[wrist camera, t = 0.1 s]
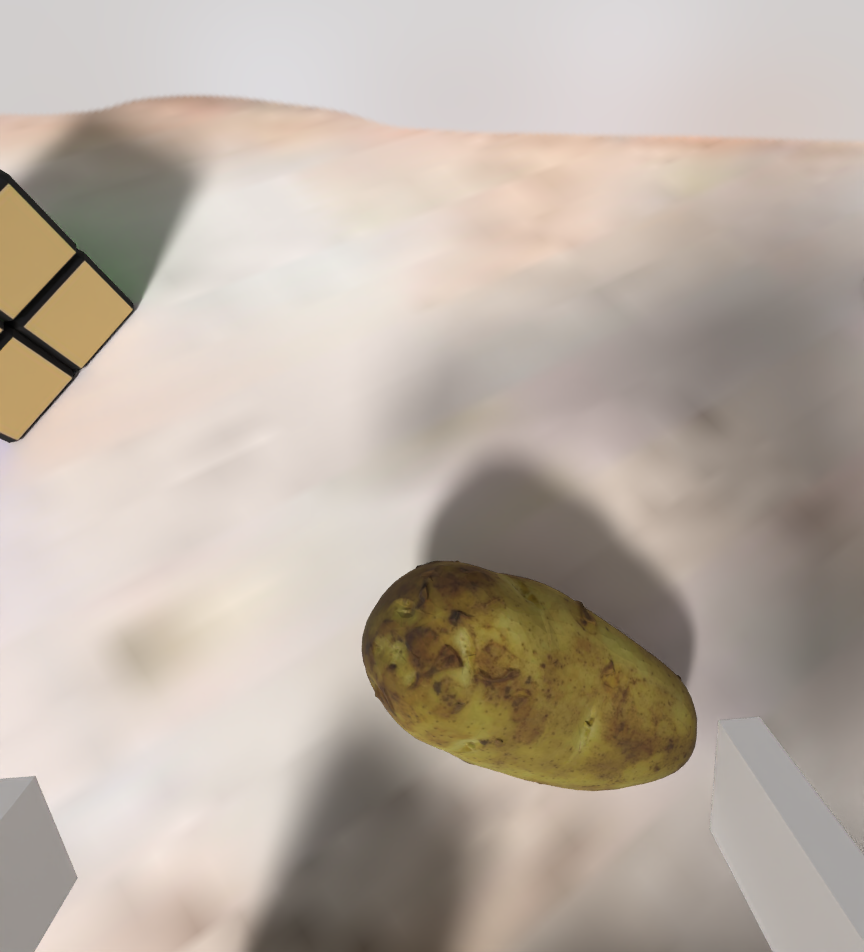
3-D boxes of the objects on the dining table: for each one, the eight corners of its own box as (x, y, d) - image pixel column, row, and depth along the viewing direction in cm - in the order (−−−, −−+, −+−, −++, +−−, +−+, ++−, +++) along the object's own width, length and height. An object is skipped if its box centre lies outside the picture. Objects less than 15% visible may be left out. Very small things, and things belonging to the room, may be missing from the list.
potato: (583, 867, 24) (640, 970, 16) (353, 660, 27) (309, 665, 19) (693, 702, 25) (791, 724, 18) (464, 523, 28) (465, 477, 21)
